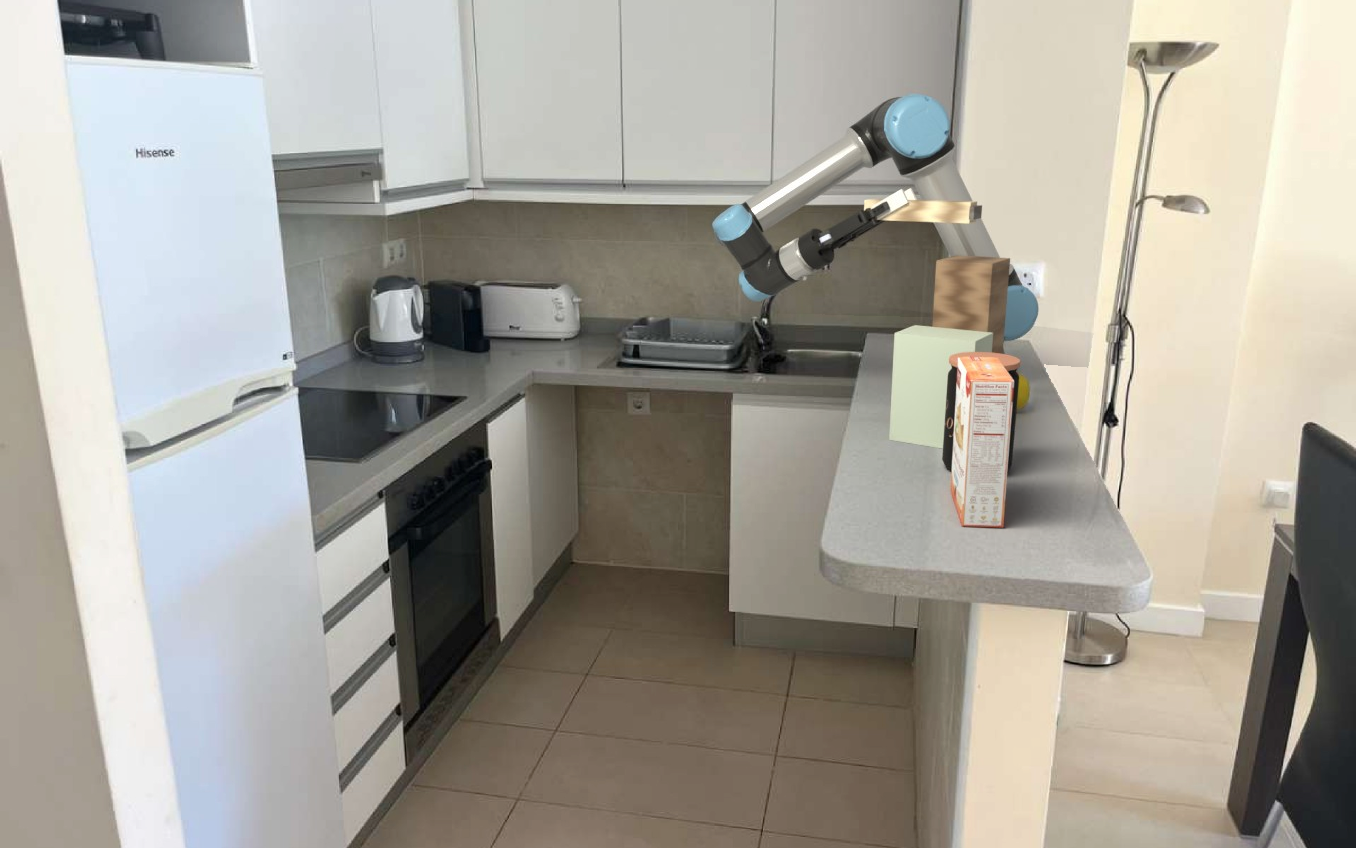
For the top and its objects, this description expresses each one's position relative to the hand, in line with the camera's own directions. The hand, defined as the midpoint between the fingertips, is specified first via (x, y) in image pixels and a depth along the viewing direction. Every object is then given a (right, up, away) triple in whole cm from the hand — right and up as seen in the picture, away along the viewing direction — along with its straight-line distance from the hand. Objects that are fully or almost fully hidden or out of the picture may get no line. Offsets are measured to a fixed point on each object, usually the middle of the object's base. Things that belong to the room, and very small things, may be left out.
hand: (909, 195), depth 183 cm
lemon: (+22, -40, +10) cm, 47 cm away
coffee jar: (+5, -49, -23) cm, 55 cm away
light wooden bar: (+2, -5, 0) cm, 5 cm away
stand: (+11, -41, +4) cm, 43 cm away
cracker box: (0, -54, -41) cm, 68 cm away
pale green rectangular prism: (+3, -45, -7) cm, 45 cm away
